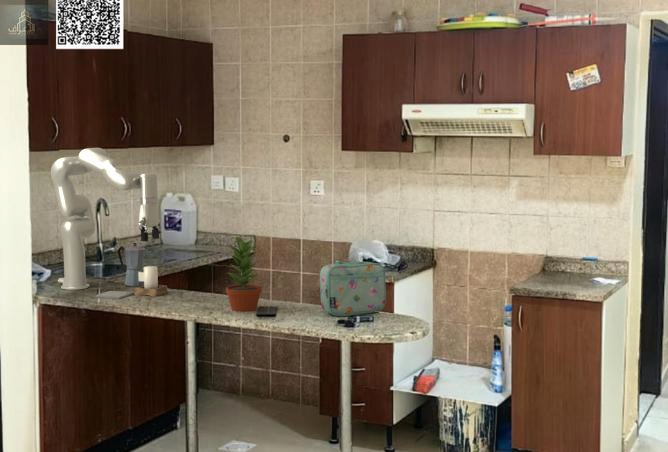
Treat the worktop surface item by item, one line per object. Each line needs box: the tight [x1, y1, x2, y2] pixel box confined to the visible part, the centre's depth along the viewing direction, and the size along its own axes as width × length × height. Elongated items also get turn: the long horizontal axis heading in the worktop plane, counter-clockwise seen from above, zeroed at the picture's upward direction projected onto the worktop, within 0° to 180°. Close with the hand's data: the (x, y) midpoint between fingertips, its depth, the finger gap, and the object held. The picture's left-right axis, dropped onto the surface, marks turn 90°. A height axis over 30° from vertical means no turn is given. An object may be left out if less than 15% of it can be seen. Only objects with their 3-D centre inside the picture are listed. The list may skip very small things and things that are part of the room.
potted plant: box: [225, 235, 263, 312], centre depth 403 cm, size 15×15×30 cm
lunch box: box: [319, 260, 387, 317], centre depth 394 cm, size 27×10×21 cm, turn 114°
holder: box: [134, 284, 168, 297], centre depth 440 cm, size 10×10×3 cm
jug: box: [138, 265, 159, 289], centre depth 440 cm, size 9×6×12 cm
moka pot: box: [117, 242, 148, 288], centre depth 462 cm, size 10×15×20 cm, turn 78°
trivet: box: [94, 290, 135, 300], centre depth 436 cm, size 12×12×1 cm
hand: (150, 239), depth 438 cm, fingers open, 9 cm apart
